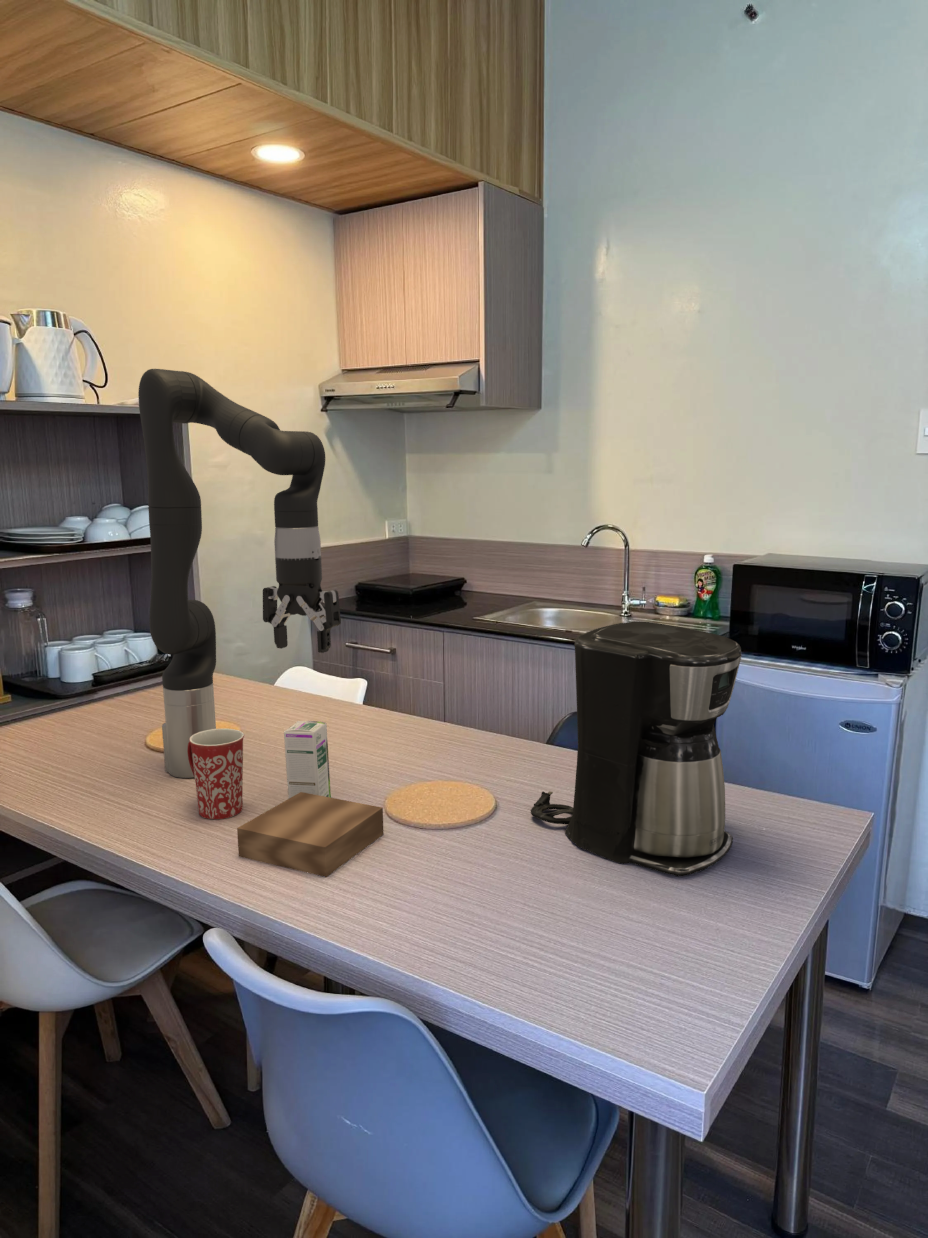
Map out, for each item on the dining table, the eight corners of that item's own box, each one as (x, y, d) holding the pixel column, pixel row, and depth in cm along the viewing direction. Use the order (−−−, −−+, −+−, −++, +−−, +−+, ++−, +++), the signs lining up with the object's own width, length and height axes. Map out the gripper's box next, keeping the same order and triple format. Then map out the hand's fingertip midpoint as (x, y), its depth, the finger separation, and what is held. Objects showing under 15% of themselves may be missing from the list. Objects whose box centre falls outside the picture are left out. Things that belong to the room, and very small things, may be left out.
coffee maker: (731, 887, 121) (743, 651, 115) (507, 858, 130) (506, 639, 124) (733, 823, 142) (742, 621, 136) (540, 802, 152) (541, 612, 146)
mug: (259, 810, 149) (255, 735, 147) (212, 826, 143) (207, 748, 140) (218, 792, 157) (214, 720, 155) (173, 807, 151) (167, 732, 148)
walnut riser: (238, 859, 132) (237, 828, 131) (302, 820, 146) (300, 792, 145) (326, 880, 125) (324, 847, 124) (383, 837, 139) (382, 807, 138)
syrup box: (319, 812, 148) (316, 731, 145) (287, 810, 149) (283, 729, 146) (331, 800, 153) (328, 721, 151) (300, 797, 154) (296, 719, 152)
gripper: (249, 554, 143) (254, 650, 146) (320, 558, 137) (324, 658, 140) (277, 550, 150) (282, 642, 152) (346, 553, 143) (350, 648, 146)
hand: (302, 649), depth 146 cm, fingers open, 8 cm apart
